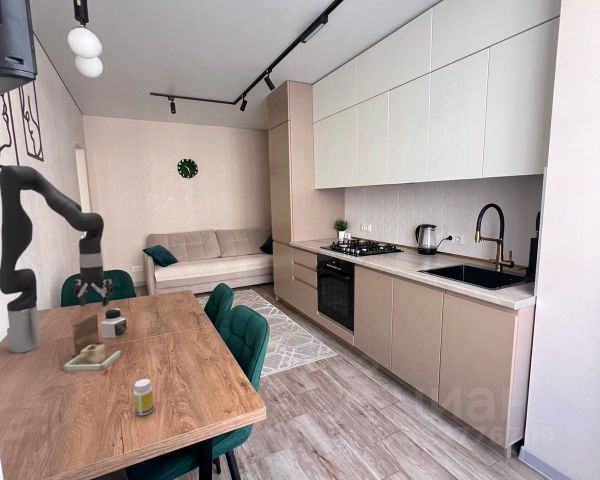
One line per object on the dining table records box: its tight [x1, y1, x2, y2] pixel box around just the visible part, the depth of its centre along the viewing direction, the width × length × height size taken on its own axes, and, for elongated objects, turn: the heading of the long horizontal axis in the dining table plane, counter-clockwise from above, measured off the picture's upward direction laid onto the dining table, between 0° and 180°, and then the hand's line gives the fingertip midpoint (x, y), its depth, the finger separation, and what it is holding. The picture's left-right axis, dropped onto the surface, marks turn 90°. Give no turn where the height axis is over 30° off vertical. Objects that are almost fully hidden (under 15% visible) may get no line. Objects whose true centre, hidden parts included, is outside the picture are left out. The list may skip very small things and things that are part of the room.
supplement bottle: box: [133, 378, 154, 416], centre depth 92 cm, size 5×5×8 cm
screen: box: [70, 313, 104, 359], centre depth 132 cm, size 5×13×13 cm, turn 1°
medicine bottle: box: [100, 308, 128, 340], centre depth 148 cm, size 7×7×12 cm
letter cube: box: [80, 344, 106, 365], centre depth 123 cm, size 6×6×6 cm
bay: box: [61, 350, 122, 372], centre depth 122 cm, size 14×12×2 cm
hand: (94, 305), depth 127 cm, fingers open, 8 cm apart
